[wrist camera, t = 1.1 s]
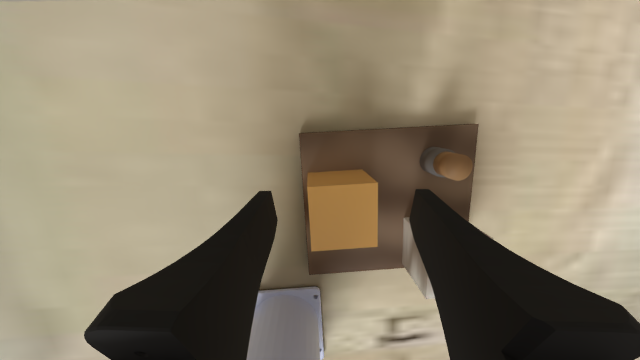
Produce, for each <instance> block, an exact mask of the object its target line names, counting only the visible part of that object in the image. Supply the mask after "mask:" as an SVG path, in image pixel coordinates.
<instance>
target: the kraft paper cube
mask: <svg viewBox="0 0 640 360" xmlns="http://www.w3.org/2000/svg"><path fill="white" fill-rule="evenodd" d="M307 191H308V206H309V221H310V236H311V252H312V251H326V250H340V249H354V248H368V247H378V182H376V181H375V180H374V179H373V178H372V177H371V176H369V175H368V174H367V173H366V172H365V171H363V170H345V171H329V172H312V173H308V175H307Z"/></svg>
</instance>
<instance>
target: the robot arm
mask: <svg viewBox="0 0 640 360" xmlns="http://www.w3.org/2000/svg"><path fill="white" fill-rule="evenodd" d="M409 222H410V226H411V230H412V234H413V238H414V241H415V244H416V246H417V249H418V251H419V254H420V257H421V259H422V262H423V264H424V267H425V269H426V272H427V275H428V277H429V280H430V283H431V286H432V289H433V292H434V296H435V299H436V303H437V307H438V310H439V314H440V318H441V322H442V326H443V330H444V334H445V339H446V343H447V347H448V352H449V356H450V360H634V359H636V358H638V357H640V323H639V322H638V321H637V320H636V319H635V318H634V317H633V316H632V315H631V314H630V313H629V312H628V311H627V310H626V309H625V308H624V307H623V306H622V305H620V304H618V303H615V302H613V301H611V300H609V299H606V298H604V297H602V296H599V295H597V294H595V293H592V292H590V291H588V290H586V289H583V288H581V287H579V286H577V285H574V284H572V283H570V282H568V281H566V280H564V279H562V278H560V277H558V276H556V275H554V274H552V273H550V272H548V271H546V270H544V269H542V268H540V267H538V266H537V265H535V264H533V263H531V262H529V261H528V260H526V259H524V258H522V257H520V256H519V255H517V254H515V253H514V252H512V251H510V250H509V249H507V248H505V247H504V246H502V245H501V244H499V243H498V242H496V241H494V240H493V239H491V238H490V237H488V236H487V235H485V234H484V233H483V232H481V231H480V230H479V229H477V228H476V227H474V226H473V225H472V224H470V223H469V222H468V221H467V220H465V219H464V218H463V217H461V216H460V215H459V214H458V213H457V212H455V211H454V210H453V209H452V208H451V207H449V206H448V205H447V204H446V203H445V202H444V201H442V200H441V199H440V198H439V197H438V196H437V195H435V194H434V193H433V192H432V191H431V190H429V189H416V190H415V195H414V199H413V204H412V208H411V213H410V218H409ZM276 226H277V216H276V211H275V206H274V202H273V197H272V193H271V191H259V192H258V193H257V194H256V195H255V196H254V197H253V198H252V199H251V200H250V201H249V202H248V203H247V204H246V205H245V206H244V207H243V208H242V209H241V210H240V211H239V212H238V213H237V214H236V215H235V216H234V217H233V218H232V219H231V220H230V221H229V222H228V223H227V224H225V225H224V226H223V227H222V228H221V229H220V230H219V231H218V232H216V233H215V234H214V235H213V236H211V237H210V238H209V239H208V240H206V241H205V242H204V243H202V244H201V245H200V246H198V247H197V248H195V249H194V250H192V251H191V252H189V253H188V254H186V255H185V256H183V257H182V258H180V259H179V260H177V261H176V262H174V263H173V264H171V265H169V266H168V267H166V268H164V269H162V270H161V271H159V272H157V273H155V274H154V275H152V276H150V277H148V278H146V279H144V280H142V281H140V282H138V283H136V284H134V285H132V286H130V287H128V288H127V289H125V290H123V291H120V292H118V293H116V294H114V296H113V297H112V298H111V299H110V300H109V302H108V303H107V304H106V306H105V307H104V308H103V309H102V311H101V312H100V313H99V314H98V316H97V317H96V318H95V319H94V321H93V322H92V323H91V324H90V326H89V327H88V328H87V329H86V331H85V334H84V337H85V340H86V341H87V343H88V344H89V345H91V346H92V347H93V348H95V349H96V350H98V351H99V352H100V353H102V354H103V355H105V356H106V357H108V358H109V359H111V360H322V359H323V358H324V348H323V331H322V315H321V298H320V289H319V287H302V288H289V289H276V290H263V291H259V287H260V283H261V280H262V276H263V273H264V270H265V267H266V263H267V260H268V257H269V254H270V251H271V247H272V244H273V241H274V237H275V232H276ZM314 295H318V296H314ZM319 348H320V349H319Z"/></svg>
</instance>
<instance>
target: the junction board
mask: <svg viewBox="0 0 640 360" xmlns="http://www.w3.org/2000/svg"><path fill="white" fill-rule="evenodd" d="M477 134H478V124H463V125H444V126H426V127H407V128H389V129H370V130H352V131H333V132H315V133H300V134H299V137H300V151H301V165H302V180H303V194H304V208H305V222H306V236H307V250H308V264H309V275H313V274H326V273H340V272H353V271H367V270H380V269H394V268H405V269H406V270H407V272H408V273H409V275H410V276H411V278H412V279H413V280H414V282H415V283H416V285H417V286H418V288H419V289H420V291H421V292H422V294H423V295H424V297H425V298H426V299H433V298H435V296H434V292H433V289H432V286H431V283H430V280H429V277H428V275H427V272H426V269H425V267H424V264H423V262H422V259H421V257H420V254H419V251H418V249H417V246H416V244H415V241H414V238H413V234H412V230H411V226H410V222H409V218H410V213H411V208H412V204H413V199H414V195H415V190H416V189H429V190H431V191H432V192H433V193H434V194H435V195H437V196H438V197H439V198H440V199H441V200H442V201H444V202H445V203H446V204H447V205H448V206H449V207H451V208H452V209H453V210H454V211H455V212H457V213H458V214H459V215H460V216H461V217H463V218H464V219H465V220H467V221H469V211H470V201H471V192H472V182H473V172H474V163H475V153H476V143H477ZM345 170H363V171H365V172H366V173H367V174H368V175H369V176H371V177H372V178H373V179H374V180H375V181H376V182H378V247H368V248H354V249H340V250H326V251H312V252H311V236H310V221H309V206H308V191H307V175H308V173H312V172H329V171H345ZM481 232H482V231H481ZM483 233H484V232H483ZM484 234H485V233H484ZM485 235H487V234H485ZM487 236H488V235H487ZM488 237H490V236H488ZM490 238H491V239H493V238H492V237H490Z"/></svg>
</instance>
